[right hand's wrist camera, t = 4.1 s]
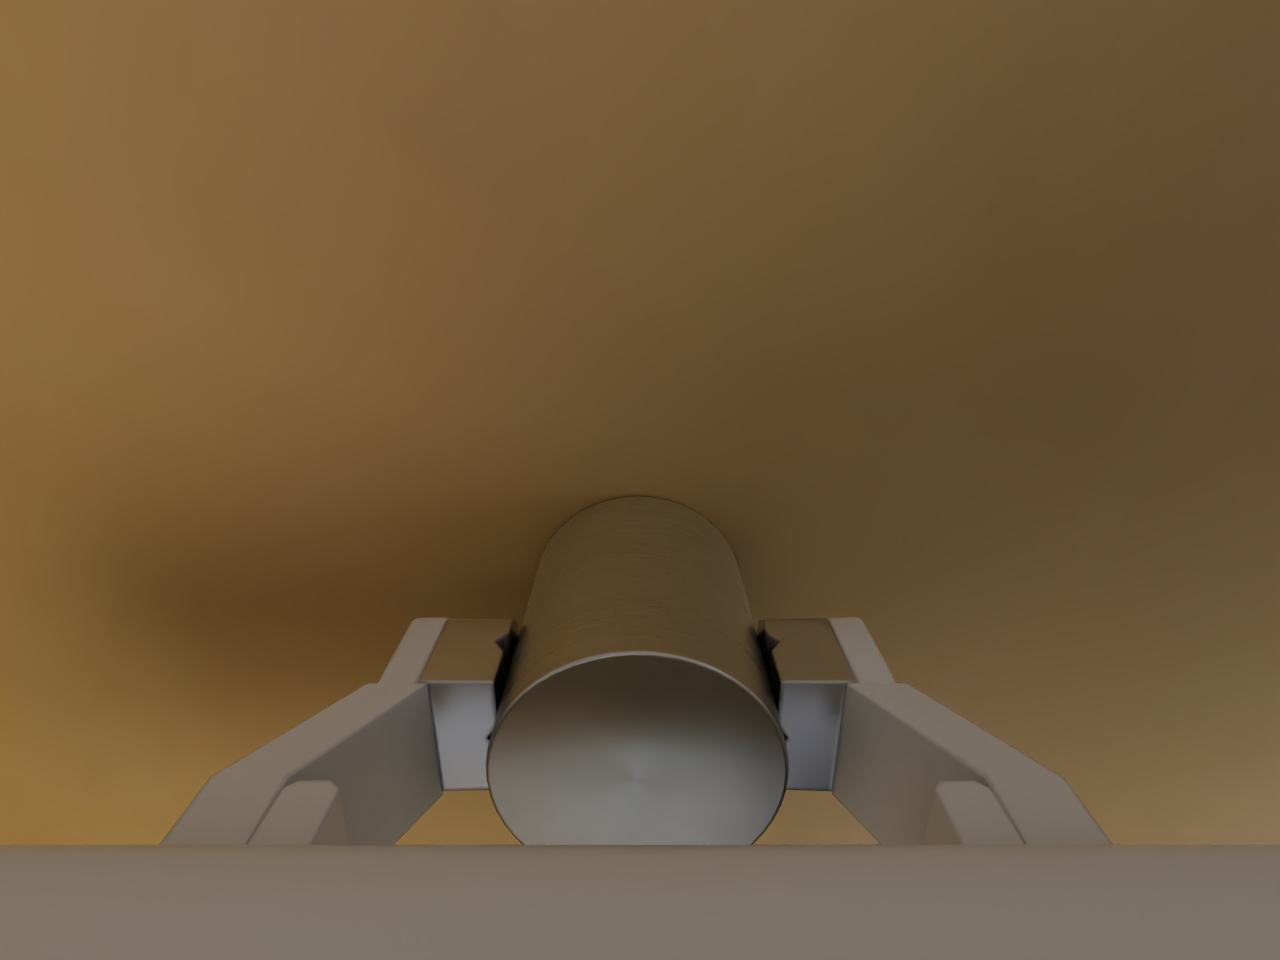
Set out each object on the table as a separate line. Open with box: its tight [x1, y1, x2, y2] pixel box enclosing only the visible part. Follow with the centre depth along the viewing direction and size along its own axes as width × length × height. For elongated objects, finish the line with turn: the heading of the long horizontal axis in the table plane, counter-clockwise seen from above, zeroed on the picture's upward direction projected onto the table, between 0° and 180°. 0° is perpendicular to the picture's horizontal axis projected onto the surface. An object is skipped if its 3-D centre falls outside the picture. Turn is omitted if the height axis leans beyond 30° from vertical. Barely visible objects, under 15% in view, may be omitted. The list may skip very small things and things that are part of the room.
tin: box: [486, 496, 789, 845], centre depth 10 cm, size 4×4×4 cm
